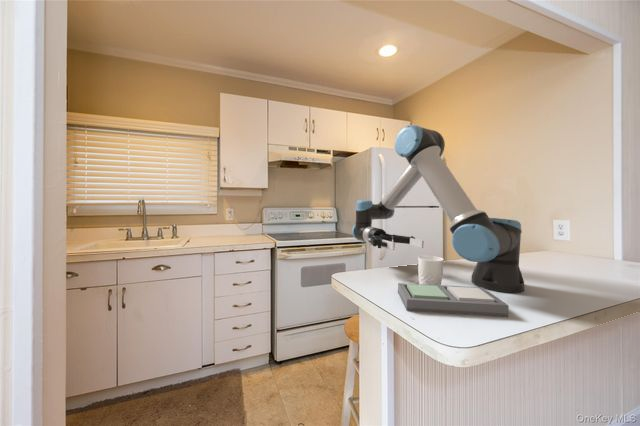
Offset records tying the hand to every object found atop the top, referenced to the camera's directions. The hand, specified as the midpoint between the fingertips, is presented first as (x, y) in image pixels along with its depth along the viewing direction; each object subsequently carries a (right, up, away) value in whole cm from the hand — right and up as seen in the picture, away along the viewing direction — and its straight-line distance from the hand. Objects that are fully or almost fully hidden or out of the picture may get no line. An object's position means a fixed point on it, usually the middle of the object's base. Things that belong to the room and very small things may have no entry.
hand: (408, 245), depth 95 cm
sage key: (-2, -11, -21) cm, 24 cm away
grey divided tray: (+3, -14, -22) cm, 26 cm away
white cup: (+4, -13, -9) cm, 16 cm away
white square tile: (+9, -11, -23) cm, 27 cm away
